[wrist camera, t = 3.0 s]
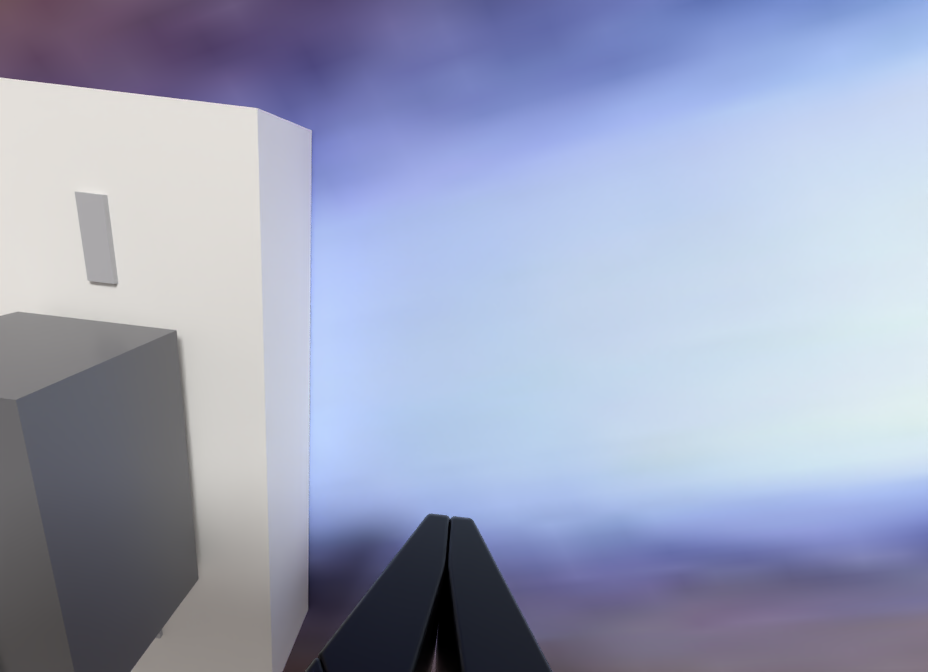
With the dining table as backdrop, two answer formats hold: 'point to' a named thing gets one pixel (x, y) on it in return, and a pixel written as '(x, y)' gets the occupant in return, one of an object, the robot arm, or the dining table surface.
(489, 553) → the robot arm
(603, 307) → the dining table surface
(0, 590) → the fader
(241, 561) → the console
